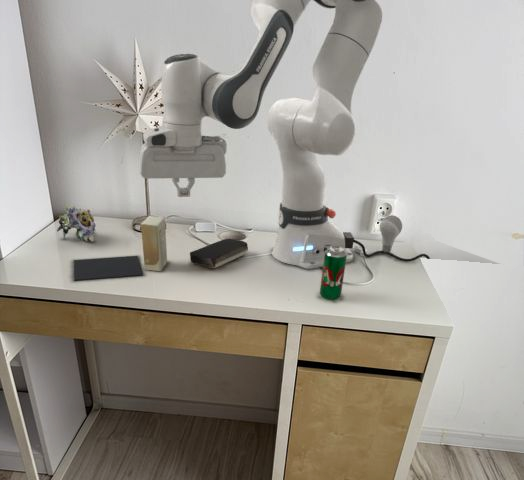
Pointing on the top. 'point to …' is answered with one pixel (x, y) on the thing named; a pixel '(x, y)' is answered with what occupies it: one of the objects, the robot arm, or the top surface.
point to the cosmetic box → (154, 243)
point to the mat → (106, 268)
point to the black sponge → (219, 253)
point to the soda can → (333, 272)
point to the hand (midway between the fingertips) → (183, 196)
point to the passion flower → (78, 223)
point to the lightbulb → (390, 231)
